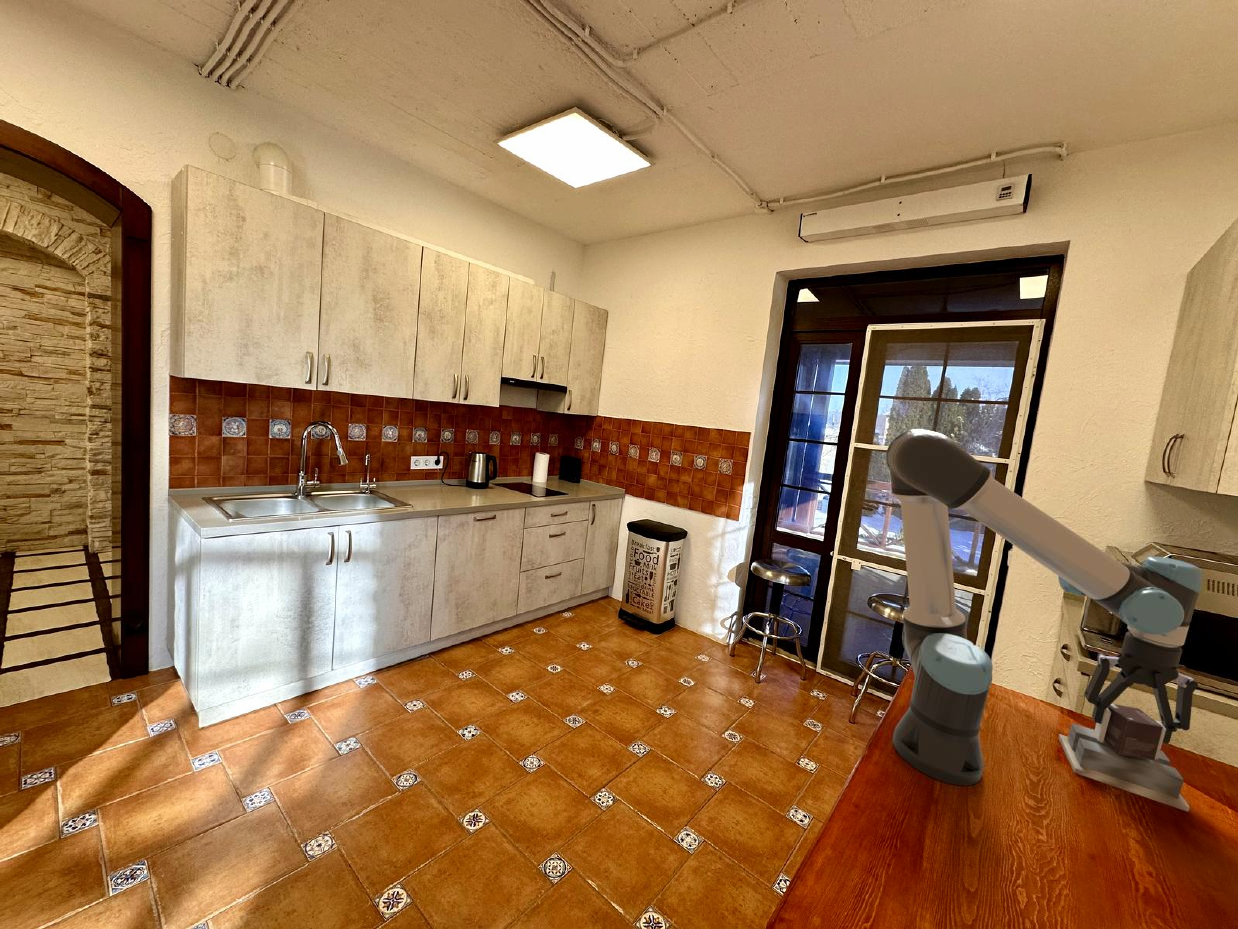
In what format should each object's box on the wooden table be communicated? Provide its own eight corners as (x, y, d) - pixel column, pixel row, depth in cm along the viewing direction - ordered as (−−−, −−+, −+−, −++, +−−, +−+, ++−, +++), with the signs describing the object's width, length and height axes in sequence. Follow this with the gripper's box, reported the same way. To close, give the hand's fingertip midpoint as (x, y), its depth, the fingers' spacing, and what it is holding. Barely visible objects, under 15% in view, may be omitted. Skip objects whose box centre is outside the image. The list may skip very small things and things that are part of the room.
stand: (1074, 772, 99) (1080, 749, 98) (1058, 738, 110) (1063, 717, 109) (1188, 812, 92) (1195, 787, 91) (1159, 771, 102) (1166, 748, 101)
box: (1155, 762, 96) (1165, 727, 95) (1118, 754, 97) (1127, 720, 96) (1130, 741, 102) (1139, 708, 101) (1096, 734, 103) (1104, 701, 102)
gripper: (1091, 629, 98) (1064, 736, 101) (1242, 665, 88) (1206, 781, 92) (1079, 616, 104) (1054, 716, 108) (1219, 647, 94) (1186, 756, 98)
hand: (1124, 746), depth 100 cm, fingers closed on box, 7 cm apart
